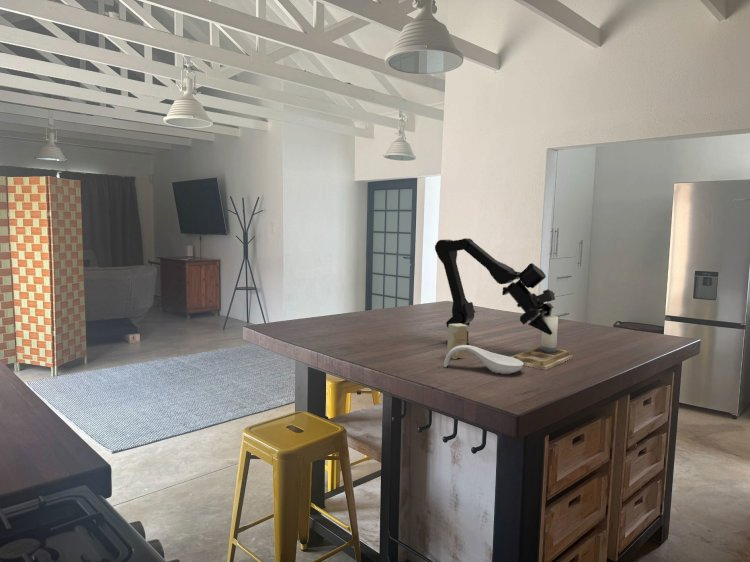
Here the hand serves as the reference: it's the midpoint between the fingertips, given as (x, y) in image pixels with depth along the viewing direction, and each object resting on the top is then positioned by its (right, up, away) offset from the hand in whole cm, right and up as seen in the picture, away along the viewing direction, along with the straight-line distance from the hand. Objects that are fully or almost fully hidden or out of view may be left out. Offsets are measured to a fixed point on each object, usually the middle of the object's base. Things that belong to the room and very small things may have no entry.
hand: (553, 333), depth 176 cm
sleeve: (-1, -6, +1) cm, 7 cm away
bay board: (-5, -9, -1) cm, 10 cm away
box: (-32, -8, 0) cm, 33 cm away
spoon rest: (-27, -10, -15) cm, 32 cm away
